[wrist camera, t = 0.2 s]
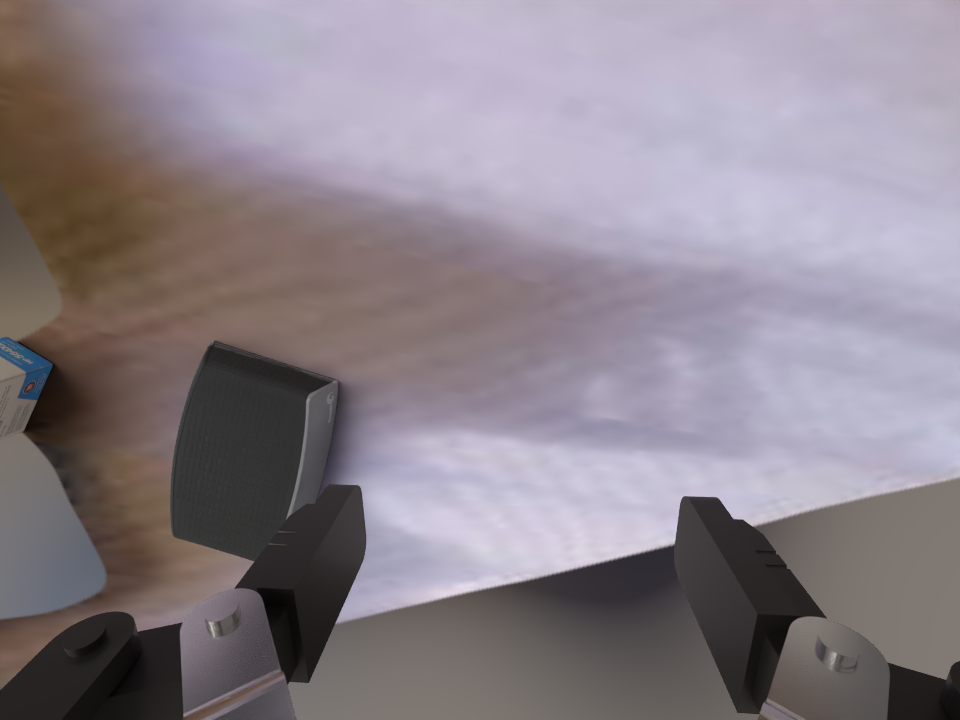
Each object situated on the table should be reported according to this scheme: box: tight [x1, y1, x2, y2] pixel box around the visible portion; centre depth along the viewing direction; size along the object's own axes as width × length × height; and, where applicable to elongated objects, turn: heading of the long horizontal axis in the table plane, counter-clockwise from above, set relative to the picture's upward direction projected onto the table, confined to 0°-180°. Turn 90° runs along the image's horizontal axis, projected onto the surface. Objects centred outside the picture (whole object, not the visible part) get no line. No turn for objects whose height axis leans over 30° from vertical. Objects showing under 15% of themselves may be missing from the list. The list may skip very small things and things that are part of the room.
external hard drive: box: [170, 341, 339, 561], centre depth 43 cm, size 13×19×4 cm
